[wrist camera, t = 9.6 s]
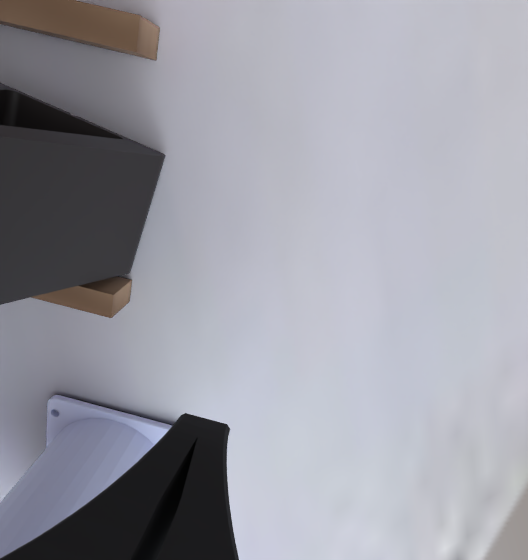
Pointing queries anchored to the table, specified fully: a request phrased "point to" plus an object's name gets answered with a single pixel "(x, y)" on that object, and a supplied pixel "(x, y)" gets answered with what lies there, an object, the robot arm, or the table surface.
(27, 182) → the phone stand
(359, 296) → the table surface
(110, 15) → the walnut bracket
